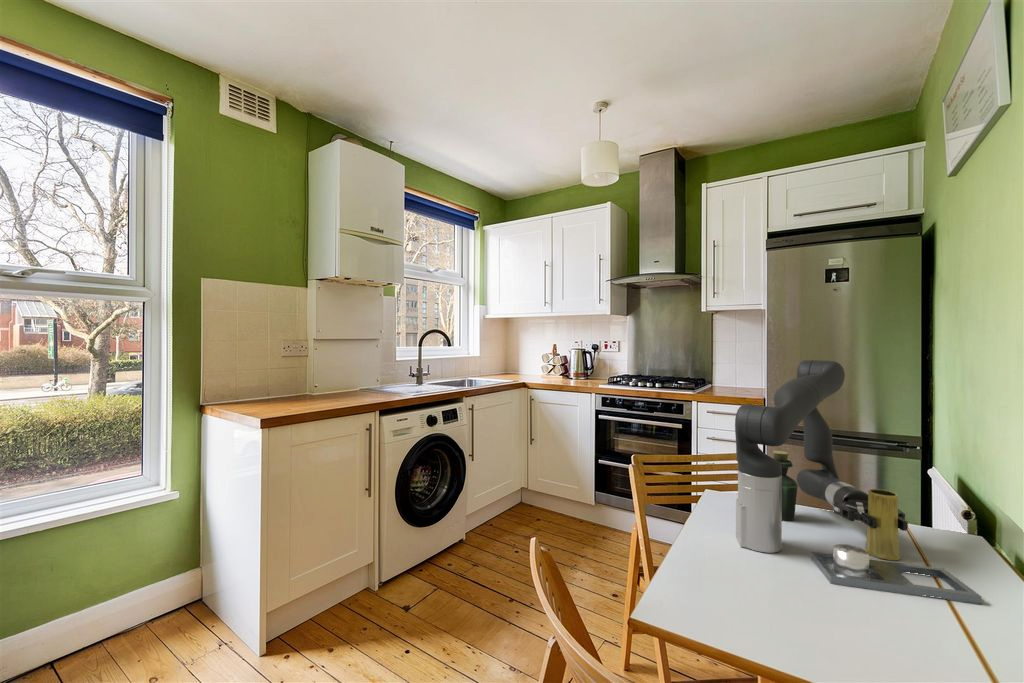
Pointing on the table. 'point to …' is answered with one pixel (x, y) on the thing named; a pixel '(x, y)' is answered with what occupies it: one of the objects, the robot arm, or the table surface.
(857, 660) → the table surface
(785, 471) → the potion bottle
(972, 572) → the table surface
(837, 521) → the table surface
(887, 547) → the vase
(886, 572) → the grey rectangular frame
